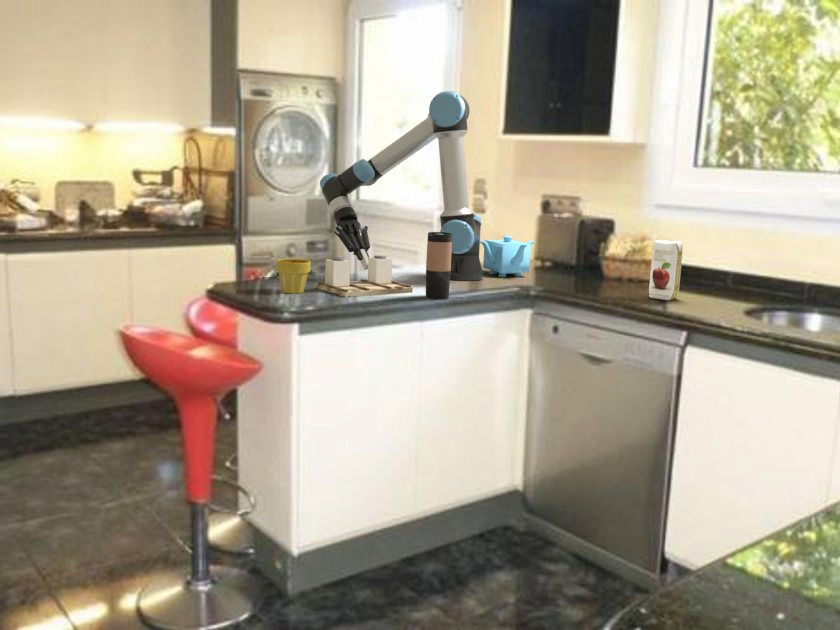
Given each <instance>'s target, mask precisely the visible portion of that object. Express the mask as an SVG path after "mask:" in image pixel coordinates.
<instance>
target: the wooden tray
mask: <svg viewBox="0 0 840 630" xmlns="http://www.w3.org/2000/svg"><path fill="white" fill-rule="evenodd" d="M315 285H316V287H315V289H317V288H320V289H323V290H326V291H330V292H333V293H336V294H339V295H338V296H340V295H342V296H341V297H343V296H345V297H344V298H349V297H348V296H357V297H368V296H367V295H370V296H380V295H391V294H392V295H393V294H394V295H395V294H406V293H413V291H414V287H413V286H412V285H411V284H406V283H402V282H399V281H396V280H395V281H394V280H391V283H383V284H379V283H375V282H371V281H368V279H363V278H361V279H360V280H355V281H353V280H352V281H351V280H350V286H339V287H336V286H332V285H329V284H326V283H325V282H321V281H318V282H317V283H316V284H315ZM320 289H319V290H320ZM323 290H322V291H323ZM326 291H325V292H326ZM330 292H329V293H330ZM333 293H332V294H333ZM336 294H335V295H336Z"/></svg>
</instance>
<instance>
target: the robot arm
mask: <svg viewBox="0 0 840 630" xmlns="http://www.w3.org/2000/svg"><path fill="white" fill-rule="evenodd" d="M428 108H429V109H428V115H427V117H426V118H425V119H424V120H422V121H421V122H420V123H418V124H417V125H415V126H414V127H412V128H411V129H410V130H408V131H407V132H406V133H404V134H403V135H401V137H399V138H398V139H396V140H394V141H393V142H392V143H390V144H389V145H388V146H386V147H385V148H383V149H382V150H381V151H380V152H377V153H376V154H375V155H373V156H372V157H371V158H370V159H367V160H366V159H365V158H361V159H360V160H358V161H356V162H354V163H353V164H352V165H351V166H349V167H348V168H347V169H345V170H344V171H343V172H341V173H339V174H337V173H335V172H334V173H331V172H330V173H329V174H326V175H324V176H323V177H321V179H320V181H319V187H320V190H321V193H322V195H323V197H324V200H326V201H325V202H326V203H327V205H328V208H329V210H330V212H331V215H332V217H333V219H334V220H333V221H335V224H336V226H335V228H334V230H333V233H334V234H335V235H336V236H337V237H338V238H339V239H340V241H341V243H343V245H344V247H345V248H346V250H347V251H348V252H349V253H352V254H353V256H356V259H357V260H358V261H359V262H360V263H361V266H362V268H363V270H368V258H370V255H369V253H368V251H369V249H370V247H371V244H370V238H369V235H368V229H369V227H368V226H367V225H365V226H363V225H362V224H361V222H359V221H358V217H357V216H358V215H357V214H356V212H355V208H354V207H353V205H352V202H351V200H350V199H349V196H348V195H350V194H351V193H353V192H354V191H356V190H357V189H358V188H360V187H371V186H373V185H374V184H375V183H377V181H378V180H380V179H381V178H382V177H383V176H385V175H386V174H387V173H389V172H390V171H392V170H393V169H394V168H396V167H397V166H399V165H400V164H401V163H403V162H404V161H406V160H407V159H409V158H410V157H411V156H413V155H414V154H416V153H418V152H419V151H420V150H422V149H423V148H424V147H426V146H427V145H429V144H430V143H432V142H433V141H434V140H438V141H437V142H438V153H439V163H440V164H439V165H440V166H439V167H440V175H441V187H442V188H441V190H442V200H443V211H442V212H441V213H440V214H439V216H440V217H439V219H440V231H439V232H446V233H452V250H451V273H450V280H452V281H453V280H454V281H469V282H470V281H479V280H483V279H484V278H483V277H484V272H483V266H482V264H481V259H480V248H481V247H480V246H481V245H480V244H481V243H480V241H481V226H482V218H481V216H480V215H479V214H475V212H474V211H473V210H472V209H471V208H470V204H469V191H468V178H467V164H466V163H467V162H466V150H465V138H464V137H465V135H466V134H467V133H468V131H469V129H468V118H469V116H470V106H469V102H468V101H467V99H466V98H465V97H464V96H462V95H460V94H459V93H457V92H455V91H453V90H445V91H441V92H439V93H437V94H436V95H435V96H434V97H432V99H431V101H430V103H429V106H428Z"/></svg>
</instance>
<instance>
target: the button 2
mask: <svg viewBox="0 0 840 630" xmlns="http://www.w3.org/2000/svg"><path fill="white" fill-rule="evenodd" d="M392 268H393V258H390V257H387V256H386V255H373V257H370V256H369V258H368V269H367V280H368V281H371V282H375V283H379V284H383V283H391V281H392V275H393V273H392V272H393V271H392V270H393V269H392Z"/></svg>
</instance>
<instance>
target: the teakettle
mask: <svg viewBox="0 0 840 630" xmlns="http://www.w3.org/2000/svg"><path fill="white" fill-rule="evenodd" d="M536 242H537V240H529V241H527V242H523V241H519V240H513V236H511V235H509V236H508V235H504V236H503V237H502V239H484V241H482V240H480V244H481V245H482V246H483V265H482V269H485V270H489V273H488V275H493V274H495V275H497V273H498V275H497V276H498V278H507V275H514V277H516V278H522V277H523V275H522V274H525V273H527V274H528V273H530V264H531V263H530V261H531V247H532V245H533V243H536Z"/></svg>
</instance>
